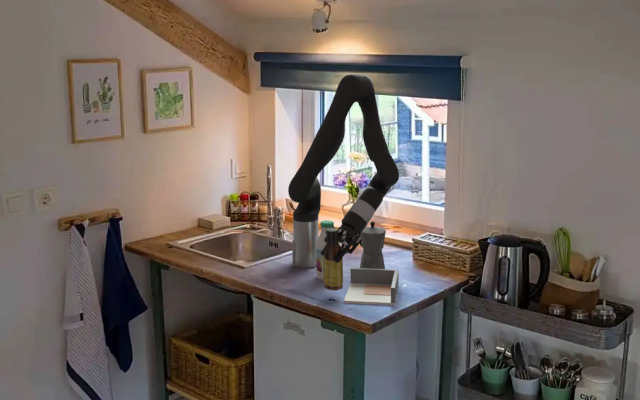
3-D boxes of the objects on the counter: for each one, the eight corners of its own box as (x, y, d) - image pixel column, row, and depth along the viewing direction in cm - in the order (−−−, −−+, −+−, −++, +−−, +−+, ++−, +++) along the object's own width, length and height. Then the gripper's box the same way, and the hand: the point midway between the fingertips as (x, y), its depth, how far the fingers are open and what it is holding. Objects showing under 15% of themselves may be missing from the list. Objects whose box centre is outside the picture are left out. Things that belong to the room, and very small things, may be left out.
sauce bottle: (330, 283, 240) (330, 225, 236) (346, 286, 237) (346, 227, 232) (319, 289, 235) (318, 229, 230) (335, 293, 232) (335, 232, 227)
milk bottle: (340, 274, 258) (340, 219, 254) (336, 281, 251) (335, 225, 246) (319, 272, 260) (318, 218, 255) (314, 280, 253) (313, 224, 248)
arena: (343, 303, 231) (343, 285, 230) (351, 283, 248) (351, 267, 247) (394, 305, 228) (394, 287, 227) (398, 286, 245) (398, 269, 244)
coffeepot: (394, 272, 259) (394, 223, 255) (373, 278, 254) (373, 227, 250) (368, 262, 271) (368, 214, 267) (347, 266, 266) (347, 218, 262)
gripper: (338, 205, 240) (309, 246, 236) (366, 214, 229) (335, 257, 225) (351, 218, 244) (322, 259, 240) (379, 228, 233) (349, 270, 229)
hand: (329, 258), depth 233 cm, fingers closed on sauce bottle, 6 cm apart
